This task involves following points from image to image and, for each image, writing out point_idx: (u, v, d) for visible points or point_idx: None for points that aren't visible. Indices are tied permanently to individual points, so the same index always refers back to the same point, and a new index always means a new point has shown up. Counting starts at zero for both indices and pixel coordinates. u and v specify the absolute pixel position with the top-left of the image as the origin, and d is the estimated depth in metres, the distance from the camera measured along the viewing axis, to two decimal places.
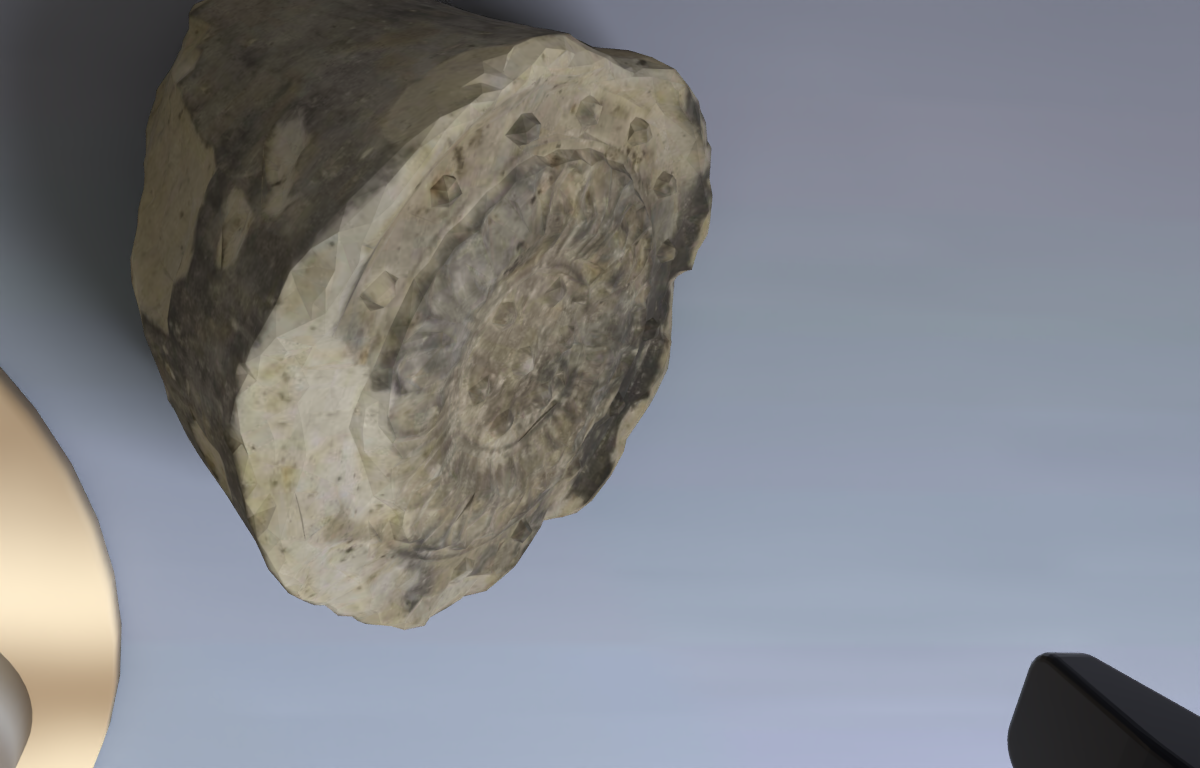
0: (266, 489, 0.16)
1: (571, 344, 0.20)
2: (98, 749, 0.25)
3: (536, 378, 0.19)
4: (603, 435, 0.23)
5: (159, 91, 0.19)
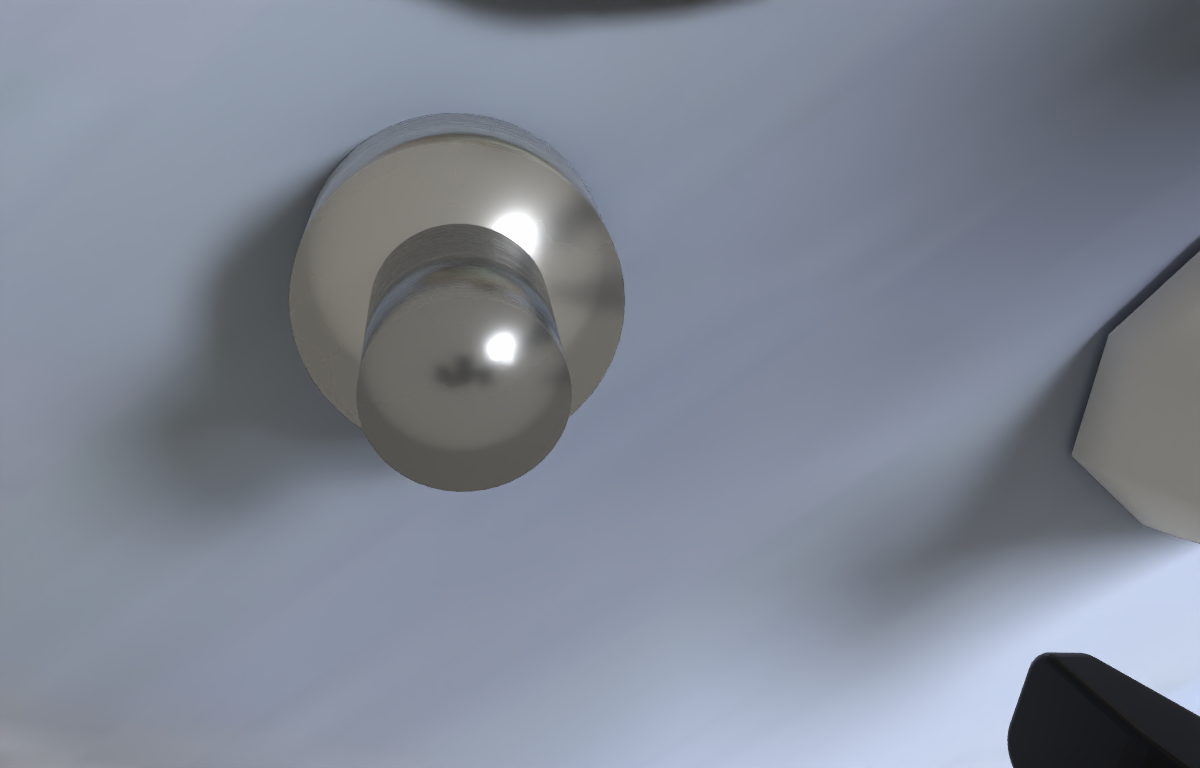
0: None
1: None
2: None
3: None
4: None
5: None
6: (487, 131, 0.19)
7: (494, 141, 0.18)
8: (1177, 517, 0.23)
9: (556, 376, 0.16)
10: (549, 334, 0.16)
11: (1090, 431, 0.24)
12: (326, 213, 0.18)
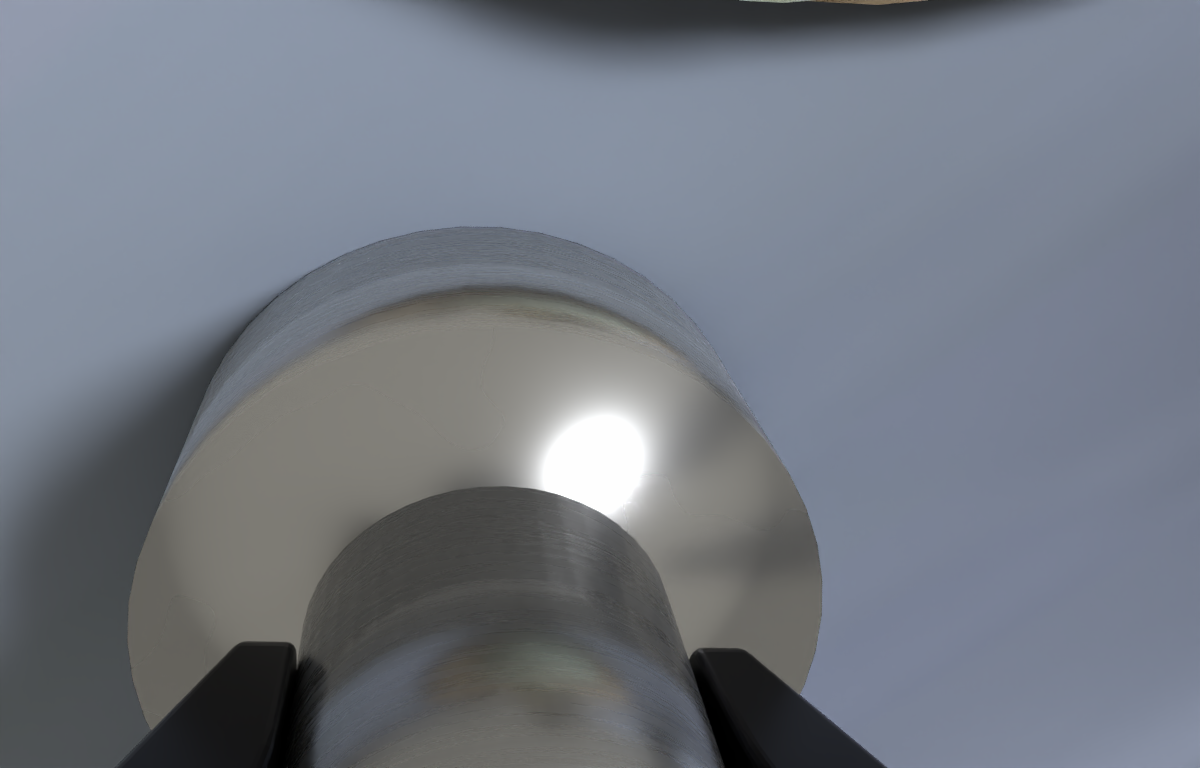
0: None
1: None
2: None
3: None
4: None
5: None
6: (544, 278, 0.09)
7: (564, 310, 0.09)
8: None
9: None
10: None
11: None
12: (201, 477, 0.08)
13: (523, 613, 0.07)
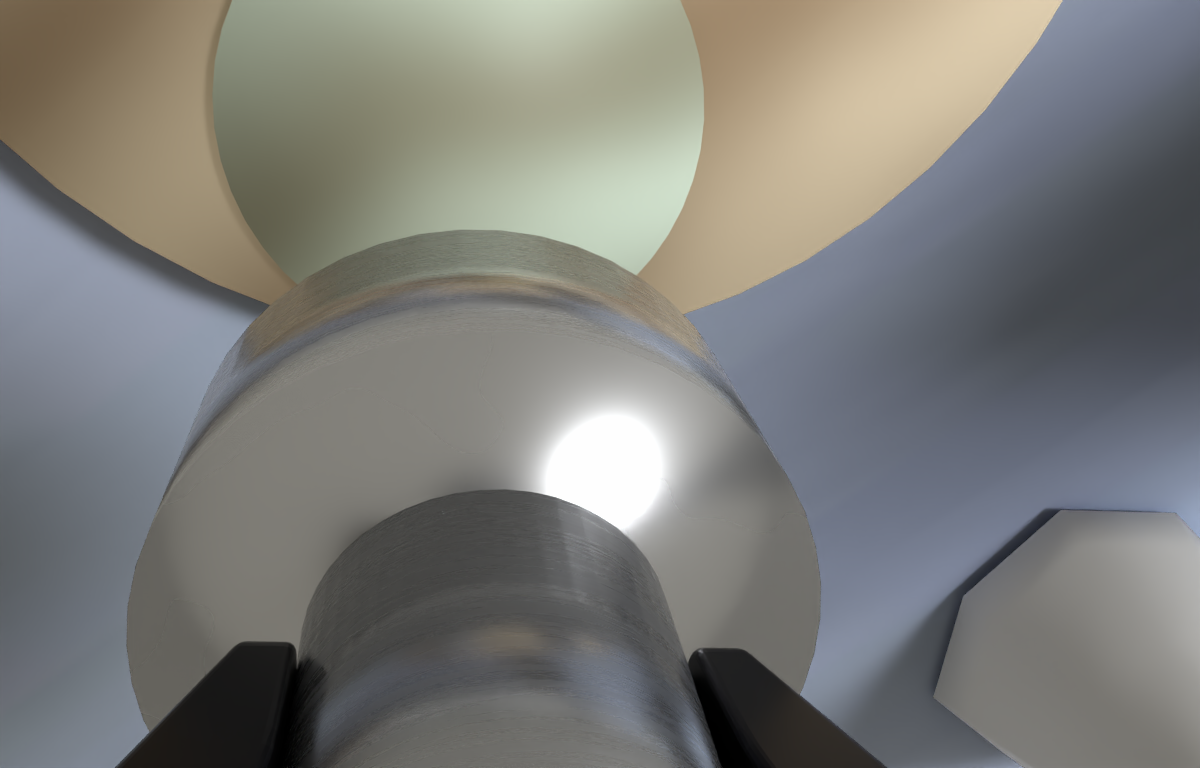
0: None
1: None
2: None
3: None
4: None
5: None
6: (543, 281, 0.09)
7: (563, 313, 0.09)
8: (1025, 765, 0.25)
9: None
10: None
11: (949, 679, 0.26)
12: (199, 481, 0.08)
13: (521, 617, 0.07)
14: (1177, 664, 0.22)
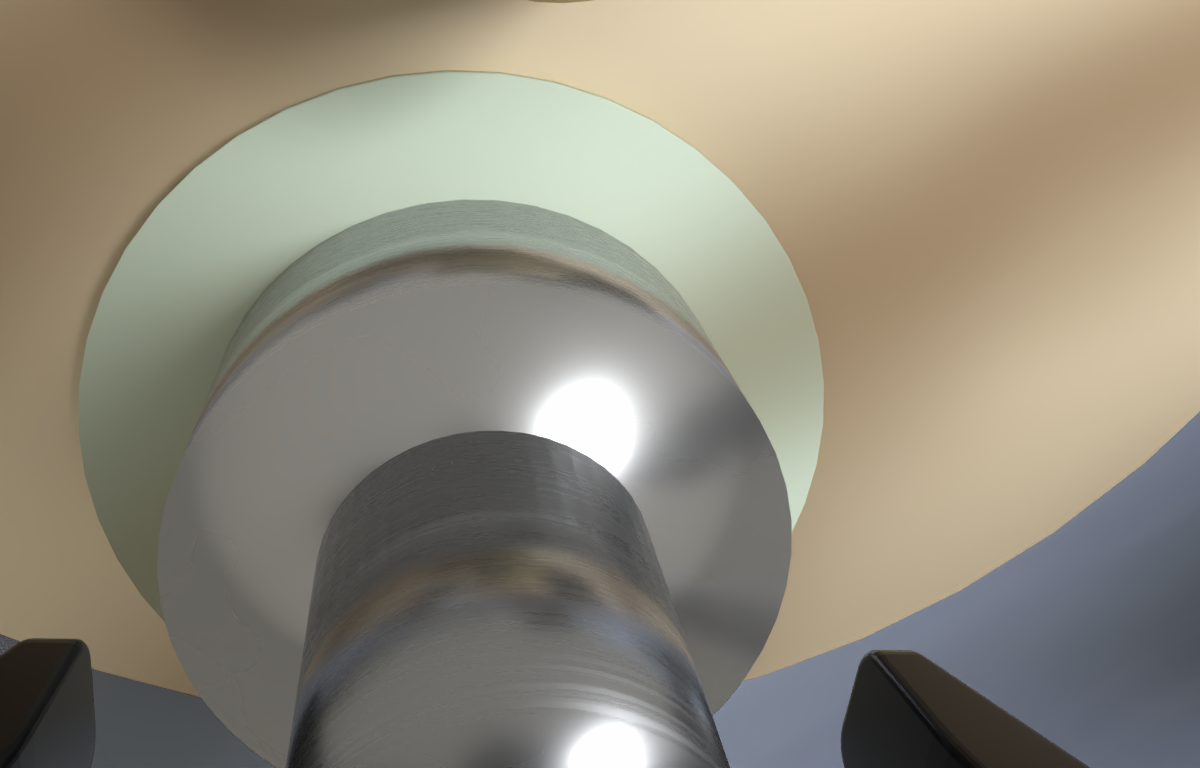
0: None
1: None
2: None
3: None
4: None
5: None
6: (537, 244, 0.10)
7: (554, 270, 0.09)
8: None
9: None
10: None
11: None
12: (225, 420, 0.09)
13: (516, 533, 0.08)
14: None
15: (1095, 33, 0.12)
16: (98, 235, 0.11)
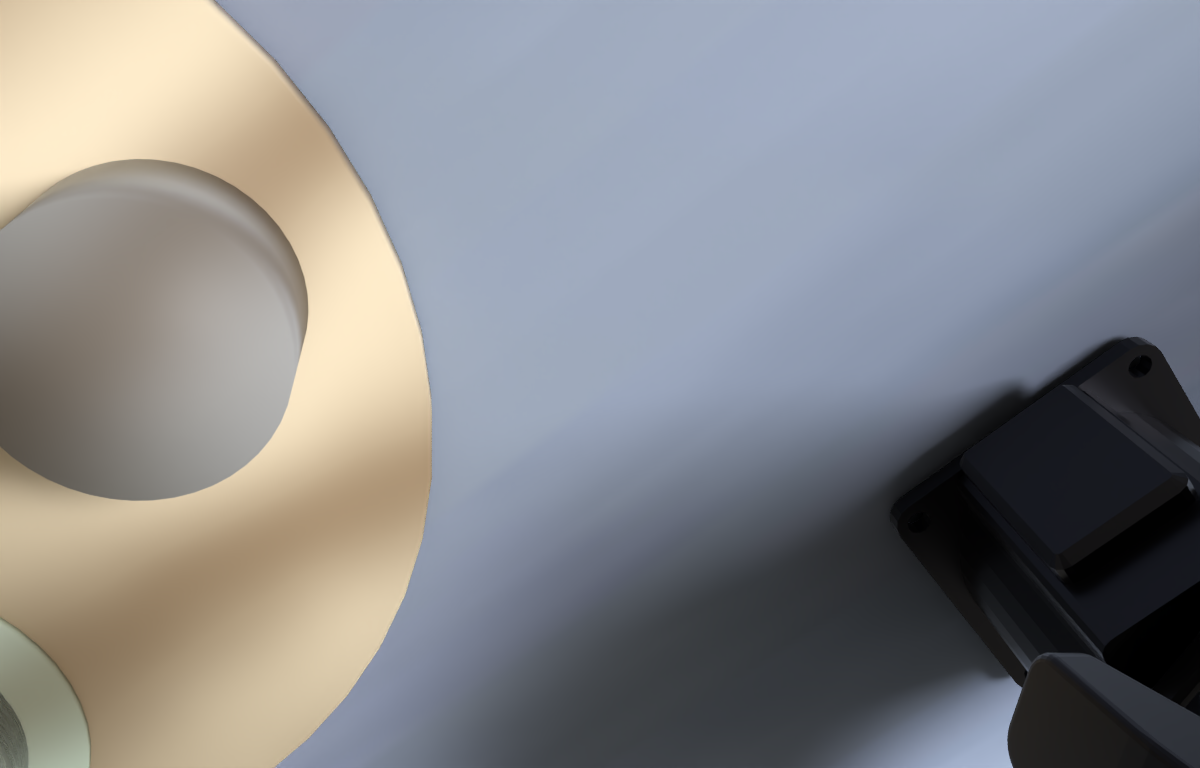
0: None
1: None
2: (369, 212, 0.19)
3: None
4: None
5: None
6: None
7: None
8: None
9: None
10: None
11: None
12: None
13: None
14: None
15: (189, 536, 0.21)
16: None
